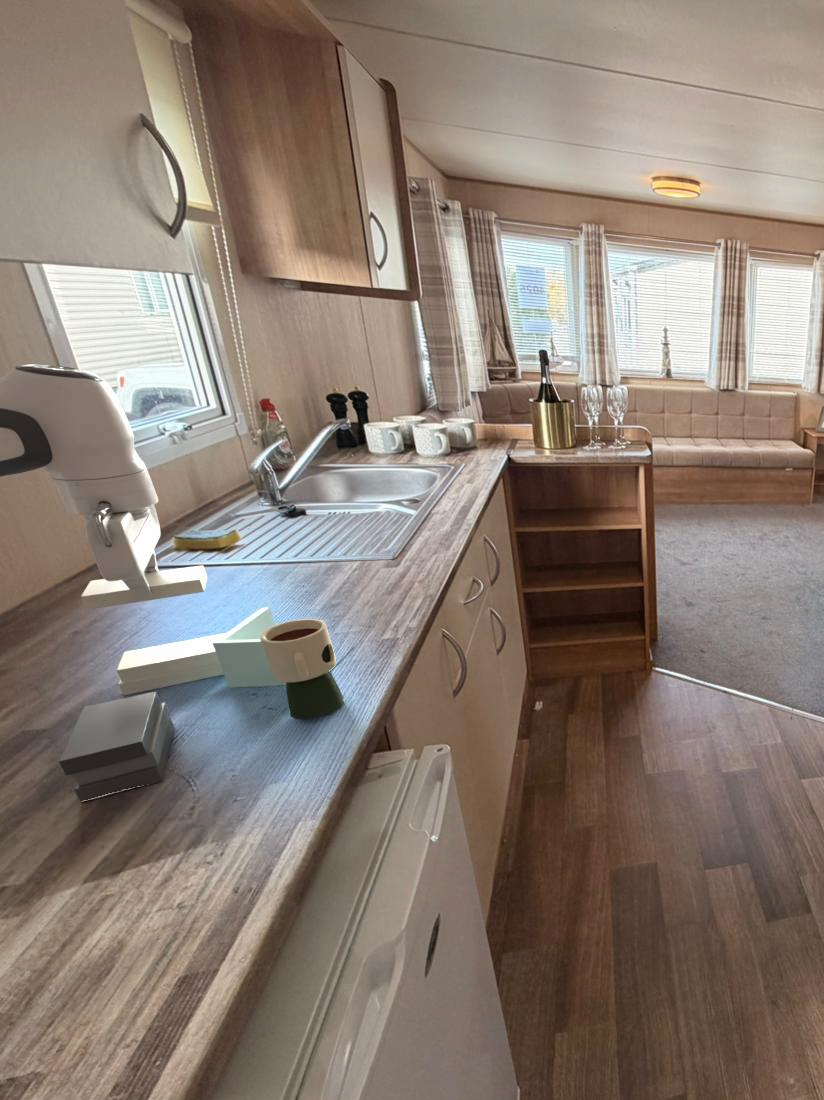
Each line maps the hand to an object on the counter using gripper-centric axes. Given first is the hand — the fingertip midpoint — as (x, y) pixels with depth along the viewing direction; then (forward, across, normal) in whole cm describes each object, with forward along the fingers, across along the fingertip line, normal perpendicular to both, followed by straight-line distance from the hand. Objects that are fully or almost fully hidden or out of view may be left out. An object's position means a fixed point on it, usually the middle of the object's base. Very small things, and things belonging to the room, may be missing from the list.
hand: (148, 587), depth 91 cm
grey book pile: (+14, -23, +3) cm, 27 cm away
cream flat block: (+1, 0, 0) cm, 1 cm away
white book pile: (+14, 0, 0) cm, 14 cm away
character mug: (+15, -22, -16) cm, 31 cm away
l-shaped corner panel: (+15, -6, -14) cm, 21 cm away
